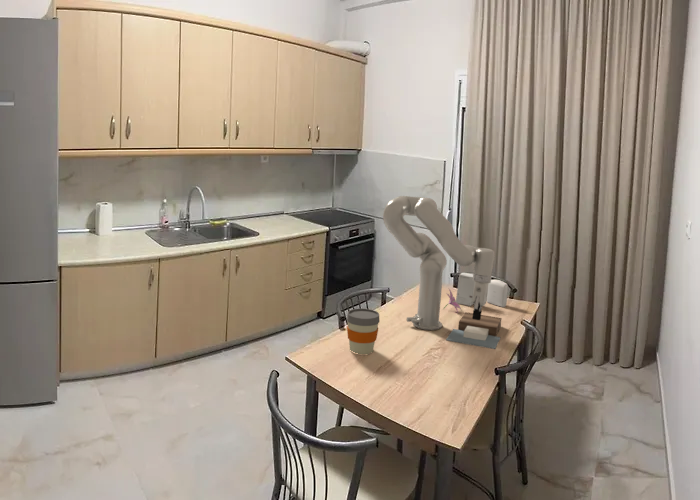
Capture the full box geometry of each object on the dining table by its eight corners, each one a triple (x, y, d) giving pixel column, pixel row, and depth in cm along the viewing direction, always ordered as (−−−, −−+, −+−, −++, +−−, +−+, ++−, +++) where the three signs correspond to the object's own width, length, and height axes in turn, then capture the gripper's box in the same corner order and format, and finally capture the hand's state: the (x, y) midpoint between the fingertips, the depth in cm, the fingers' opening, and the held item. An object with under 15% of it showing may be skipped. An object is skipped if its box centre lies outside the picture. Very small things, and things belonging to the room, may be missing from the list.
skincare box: (455, 303, 298) (458, 274, 295) (459, 300, 303) (461, 271, 300) (471, 306, 294) (474, 277, 291) (475, 303, 299) (478, 274, 296)
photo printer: (485, 302, 302) (487, 278, 299) (490, 300, 305) (493, 277, 302) (502, 307, 294) (504, 283, 292) (507, 306, 297) (510, 282, 294)
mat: (453, 329, 261) (453, 328, 261) (500, 337, 254) (500, 337, 254) (446, 340, 248) (446, 339, 248) (495, 349, 241) (495, 348, 241)
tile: (466, 330, 259) (467, 325, 258) (488, 334, 256) (488, 329, 255) (463, 336, 252) (463, 331, 251) (485, 340, 248) (485, 335, 248)
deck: (464, 320, 273) (465, 312, 272) (500, 326, 268) (501, 318, 267) (458, 330, 260) (459, 321, 260) (495, 336, 255) (496, 327, 254)
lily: (448, 318, 279) (460, 301, 277) (431, 302, 286) (442, 286, 284) (459, 319, 289) (471, 304, 286) (442, 304, 295) (454, 289, 293)
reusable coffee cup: (358, 359, 224) (360, 321, 221) (338, 347, 234) (340, 311, 231) (384, 352, 232) (386, 315, 228) (364, 342, 242) (366, 306, 238)
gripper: (488, 283, 245) (482, 326, 249) (493, 275, 258) (488, 315, 262) (469, 280, 247) (464, 322, 251) (476, 272, 261) (470, 312, 265)
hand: (476, 319), depth 257 cm, fingers closed
